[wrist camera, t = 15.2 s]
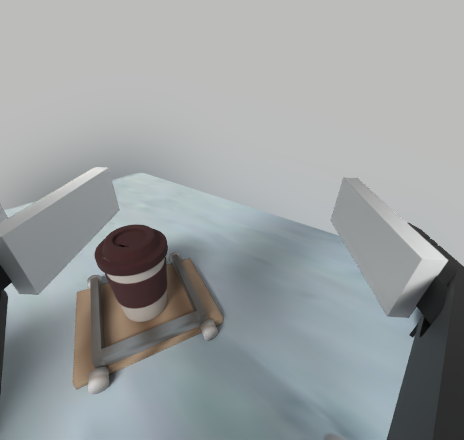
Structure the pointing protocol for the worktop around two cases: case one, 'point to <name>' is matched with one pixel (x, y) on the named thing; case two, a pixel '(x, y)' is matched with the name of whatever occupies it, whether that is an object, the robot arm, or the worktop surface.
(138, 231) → the coffee cup
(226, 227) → the worktop surface
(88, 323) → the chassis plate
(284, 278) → the worktop surface
